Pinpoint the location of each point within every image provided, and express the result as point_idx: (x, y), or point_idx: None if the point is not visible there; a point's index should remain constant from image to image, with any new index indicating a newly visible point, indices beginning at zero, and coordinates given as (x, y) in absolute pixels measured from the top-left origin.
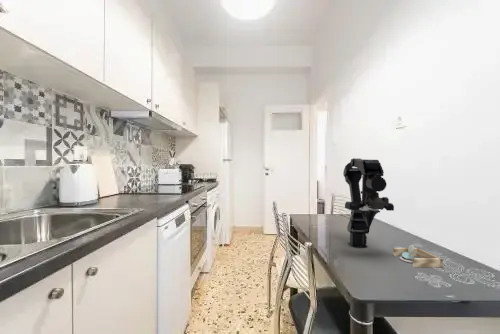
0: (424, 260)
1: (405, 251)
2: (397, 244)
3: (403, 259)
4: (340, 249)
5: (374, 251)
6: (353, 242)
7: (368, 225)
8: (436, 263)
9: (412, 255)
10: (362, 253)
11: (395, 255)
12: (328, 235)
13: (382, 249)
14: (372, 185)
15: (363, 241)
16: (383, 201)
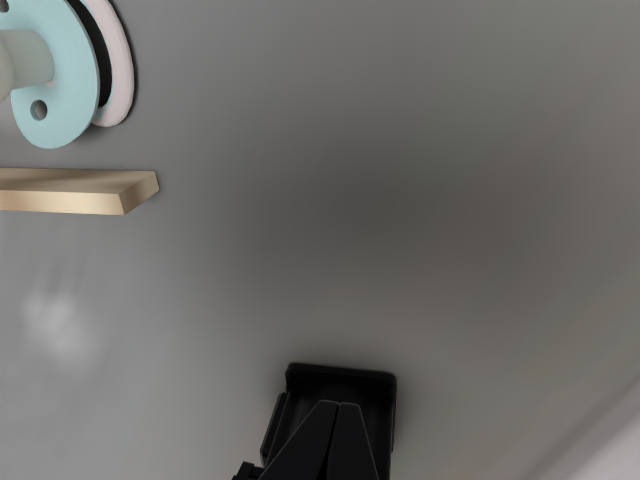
0: None
1: (43, 182)
2: (63, 389)
3: (112, 29)
4: (547, 346)
5: (272, 280)
6: (385, 417)
7: (353, 421)
8: None
9: (4, 31)
10: (403, 241)
11: (144, 171)
12: None
13: (192, 316)
14: None
15: (303, 409)
16: None
